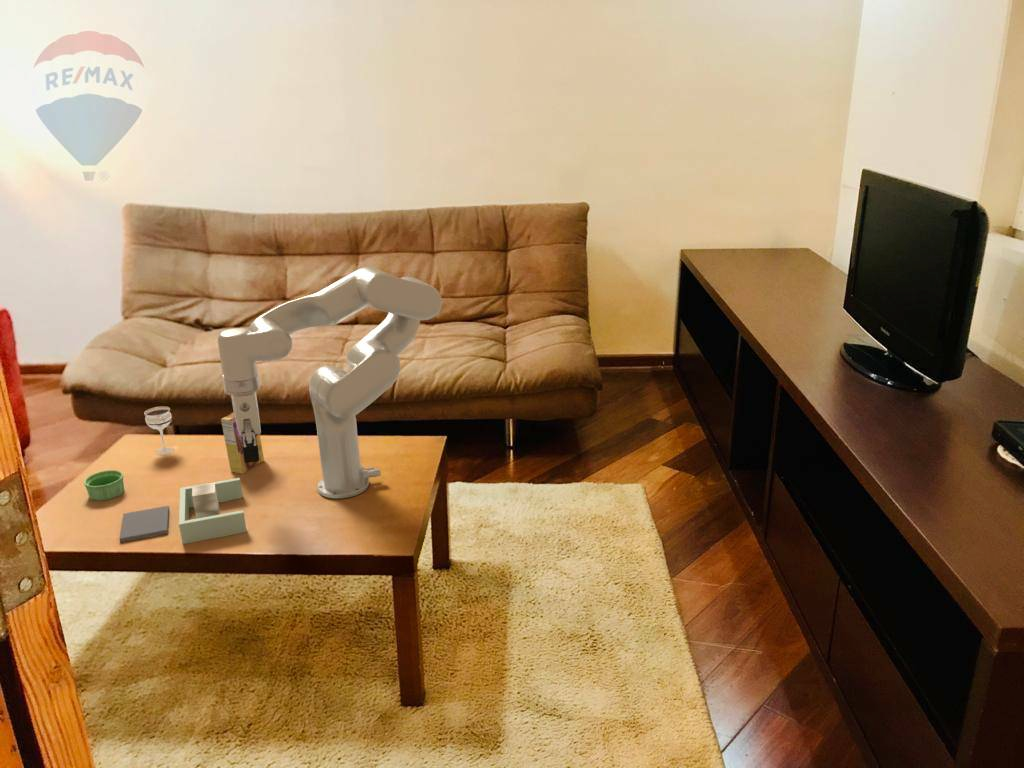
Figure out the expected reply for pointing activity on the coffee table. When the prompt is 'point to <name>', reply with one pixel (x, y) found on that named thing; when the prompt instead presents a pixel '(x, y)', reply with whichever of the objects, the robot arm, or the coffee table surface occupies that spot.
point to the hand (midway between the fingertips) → (250, 452)
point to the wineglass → (159, 424)
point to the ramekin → (104, 485)
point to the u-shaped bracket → (212, 524)
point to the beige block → (205, 500)
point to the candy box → (237, 446)
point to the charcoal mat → (144, 523)
